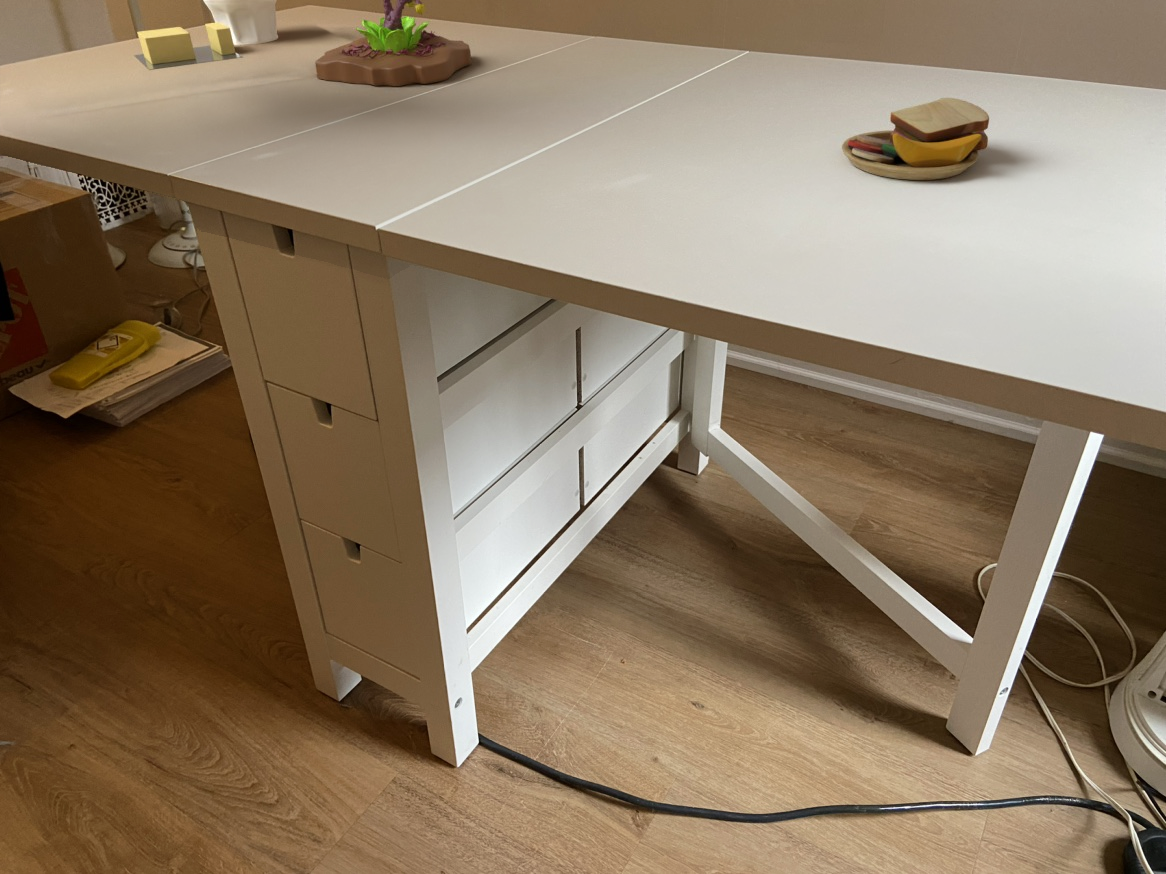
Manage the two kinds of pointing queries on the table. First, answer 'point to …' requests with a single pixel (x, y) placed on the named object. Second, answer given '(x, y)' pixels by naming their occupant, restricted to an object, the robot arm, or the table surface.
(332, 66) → the plant
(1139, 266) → the table surface
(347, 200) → the table surface
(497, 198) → the table surface
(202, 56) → the butter dish
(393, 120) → the table surface
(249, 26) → the cup
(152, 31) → the butter
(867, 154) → the toy sandwich meal
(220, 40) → the butter slice
